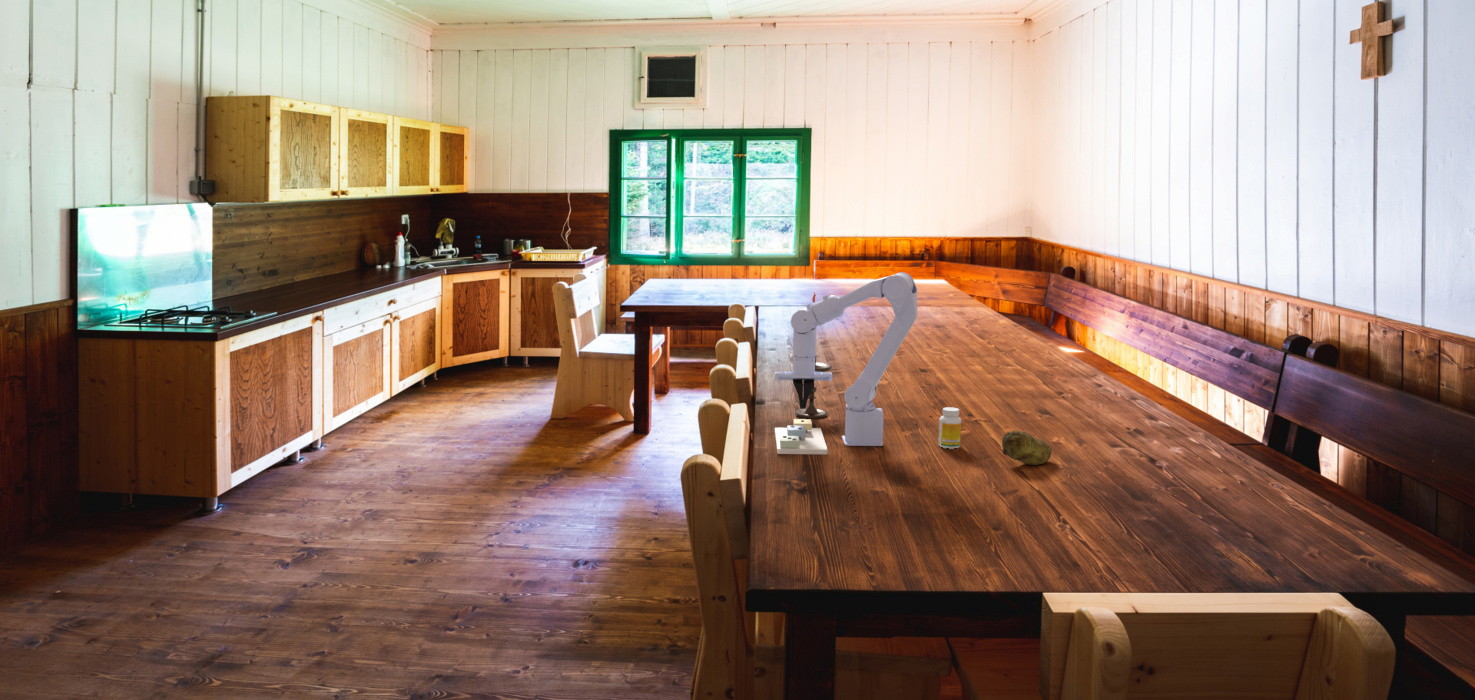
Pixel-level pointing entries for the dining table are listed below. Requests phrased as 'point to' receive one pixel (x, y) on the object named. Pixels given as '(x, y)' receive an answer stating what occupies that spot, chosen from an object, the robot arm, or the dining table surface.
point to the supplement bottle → (949, 428)
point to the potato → (1025, 448)
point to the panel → (803, 442)
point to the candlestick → (814, 390)
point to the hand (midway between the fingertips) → (802, 408)
